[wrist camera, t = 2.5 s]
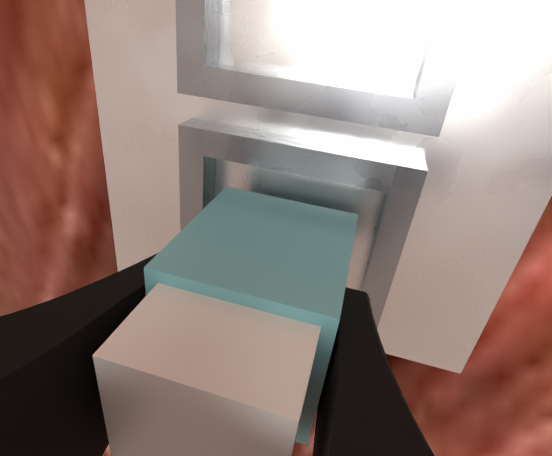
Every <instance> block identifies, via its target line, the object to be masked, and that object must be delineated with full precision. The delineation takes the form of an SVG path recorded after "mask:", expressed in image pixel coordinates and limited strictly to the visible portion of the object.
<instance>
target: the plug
mask: <svg viewBox="0 0 552 456" xmlns="http://www.w3.org/2000/svg"><path fill="white" fill-rule="evenodd" d="M357 219H358V214H353V213H349V212H344V211H339V210H335V209H330V208H325V207H321V206H316V205H311V204H306V203H302V202H297V201H292V200H288V199H283V198H278V197H274V196H269V195H264V194H259V193H255V192H250V191H245V190H241V189H236V188H231V187H227V186H226V187H225V188H224V189H223V190H222V191H221V192H220V193H219V194H218V195H217V196H216V197H215V198H214V199H213V200H212V201H211V202H210V203H209V204H208V205H207V206H206V207H205V208H204V209H203V210H202V211H201V212H200V213H199V214H198V215H197V216H196V217H195V218H194V219H193V220H192V221H191V222H190V223H188V224H187V225H186V226H185V227H184V228H183V229H182V230H181V231H180V232H179V233H178V234H177V235H176V236H175V237H174V238H173V239H172V240H171V241H170V242H169V243H168V244H167V245H166V246H165V247H164V248H163V249H162V250H161V251H160V252H159V253H158V254H157V255H156V256H155V257H154V258H153V259H152V260H151V261H150V262H149V263H148V264H147V265H146V266H145V267H144V277H145V290H146V297H145V298H144V299H143V300H142V301H141V302H140V303H139V304H138V305H137V307H136V308H135V309H134V310H133V311H132V312H131V313H130V314H129V315H128V317H127V318H126V319H125V320H124V321H123V322H122V323H121V324H120V325H119V327H118V328H117V329H116V330H115V331H114V332H113V333H112V334H111V335H110V336H109V338H108V339H107V340H106V341H105V342H104V343H103V344H102V345H101V346H100V348H99V349H98V350H97V351H96V352H95V353H94V354H93V355H92V356H93V361H94V367H95V372H96V377H97V383H98V388H99V393H100V398H101V404H102V409H103V414H104V420H105V425H106V430H107V436H108V441H109V446H110V451H111V456H292V454H293V450H294V445H295V442H298V443H301V444H304V445H307V446H308V443H309V439H310V435H311V431H312V427H313V423H314V419H315V415H316V411H317V407H318V403H319V400H320V396H321V392H322V388H323V384H324V380H325V376H326V372H327V368H328V364H329V360H330V356H331V352H332V348H333V344H334V341H335V337H336V333H337V329H338V325H339V321H340V316H341V310H342V305H343V299H344V293H345V288H346V282H347V276H348V270H349V265H350V259H351V253H352V248H353V242H354V236H355V231H356V225H357Z"/></svg>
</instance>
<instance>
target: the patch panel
mask: <svg viewBox="0 0 552 456" xmlns="http://www.w3.org/2000/svg"><path fill="white" fill-rule="evenodd" d="M84 1H85V9H86V17H87V25H88V33H89V41H90V49H91V57H92V66H93V74H94V82H95V90H96V98H97V106H98V114H99V122H100V130H101V138H102V146H103V154H104V163H105V171H106V179H107V187H108V195H109V203H110V211H111V219H112V227H113V235H114V243H115V251H116V260H117V268H118V272H119V271H121V270H123V269H125V268H127V267H129V266H132V265H134V264H136V263H138V262H140V261H142V260H144V259H146V258H148V257H150V256H153V255H155V254H157V253H159V252H160V251H161V250H162V249H163V248H164V247H165V246H166V245H167V244H168V243H169V242H170V241H171V240H172V239H173V238H174V237H175V236H176V235H177V234H178V233H179V232H180V231H181V230H182V229H183V228H184V227H185V226H186V225H187V224H188V223H190V222H191V221H192V220H193V219H194V218H195V217H196V216H197V215H198V214H199V213H200V212H201V211H202V210H203V209H204V208H205V207H206V206H207V205H208V204H209V203H210V202H211V201H212V200H213V199H214V198H215V197H216V196H217V195H218V194H219V193H220V192H221V191H222V190H223V189H224V188H225V187H226V186H227V187H231V188H236V189H241V190H245V191H250V192H255V193H259V194H264V195H269V196H274V197H278V198H283V199H288V200H292V201H297V202H302V203H306V204H311V205H316V206H321V207H325V208H330V209H335V210H339V211H344V212H349V213H353V214H358V219H357V225H356V231H355V236H354V242H353V248H352V253H351V259H350V265H349V270H348V276H347V282H346V287H347V288H351V289H355V290H359V291H363V292H366V293H367V294H368V296H369V298H370V304H371V309H372V313H373V317H374V320H375V324H376V327H377V330H378V334H379V337H380V340H381V343H382V345H383V348H384V351H385V353H386V354H389V355H393V356H396V357H400V358H404V359H408V360H411V361H415V362H419V363H422V364H426V365H430V366H433V367H437V368H441V369H445V370H448V371H452V372H456V373H459V374H461V372H462V370H463V368H464V366H465V364H466V362H467V360H468V358H469V356H470V355H471V353H472V351H473V349H474V347H475V345H476V343H477V341H478V339H479V337H480V335H481V333H482V331H483V329H484V327H485V325H486V323H487V321H488V319H489V317H490V315H491V313H492V311H493V310H494V308H495V306H496V304H497V302H498V300H499V298H500V296H501V294H502V292H503V290H504V288H505V286H506V284H507V282H508V280H509V278H510V276H511V274H512V272H513V270H514V268H515V266H516V264H517V263H518V261H519V259H520V257H521V255H522V253H523V251H524V249H525V247H526V245H527V243H528V241H529V239H530V237H531V235H532V233H533V231H534V229H535V227H536V225H537V223H538V221H539V219H540V217H541V216H542V214H543V212H544V210H545V208H546V206H547V204H548V202H549V200H550V198H551V196H552V0H84Z"/></svg>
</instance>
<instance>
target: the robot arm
mask: <svg viewBox="0 0 552 456" xmlns="http://www.w3.org/2000/svg"><path fill="white" fill-rule="evenodd" d="M157 254H158V253H157ZM157 254H155V255H153V256H150V257H148V258H146V259H144V260H142V261H140V262H138V263H136V264H134V265H132V266H129V267H127V268H125V269H123V270H121V271H119V272H117V273H115V274H112V275H110V276H108V277H106V278H103V279H101V280H99V281H96V282H94V283H92V284H89V285H87V286H85V287H82V288H80V289H77V290H75V291H73V292H70V293H68V294H65V295H63V296H60V297H58V298H55V299H52V300H50V301H47V302H44V303H41V304H38V305H35V306H32V307H29V308H26V309H23V310H20V311H17V312H14V313H11V314H8V315H4V316H1V317H0V456H102V455H103V453H104V451H105V449H106V448H107V446H108V444H109V441H108V436H107V430H106V425H105V420H104V414H103V409H102V404H101V398H100V393H99V388H98V383H97V377H96V372H95V367H94V361H93V356H92V355H93V354H94V353H95V352H96V351H97V350H98V349H99V348H100V346H101V345H102V344H103V343H104V342H105V341H106V340H107V339H108V338H109V336H110V335H111V334H112V333H113V332H114V331H115V330H116V329H117V328H118V327H119V325H120V324H121V323H122V322H123V321H124V320H125V319H126V318H127V317H128V315H129V314H130V313H131V312H132V311H133V310H134V309H135V308H136V307H137V305H138V304H139V303H140V302H141V301H142V300H143V299H144V298H145V297H146V290H145V277H144V267H145V266H146V265H147V264H148V263H149V262H150V261H151V260H152V259H153V258H154V257H155V256H156V255H157ZM313 456H434V454H433V452H432V450H431V449H430V447H429V445H428V443H427V442H426V440H425V438H424V436H423V434H422V432H421V431H420V429H419V427H418V425H417V423H416V421H415V419H414V417H413V415H412V413H411V411H410V409H409V407H408V405H407V403H406V401H405V399H404V397H403V395H402V392H401V390H400V388H399V386H398V383H397V381H396V379H395V376H394V374H393V372H392V369H391V367H390V364H389V362H388V359H387V356H386V353H385V351H384V348H383V345H382V343H381V340H380V337H379V334H378V330H377V327H376V324H375V320H374V317H373V313H372V309H371V304H370V298H369V296H368V294H367V293H366V292H363V291H359V290H355V289H351V288H347V287H346V288H345V293H344V299H343V305H342V310H341V316H340V321H339V325H338V329H337V333H336V337H335V341H334V344H333V348H332V352H331V356H330V360H329V364H328V368H327V372H326V376H325V380H324V384H323V388H322V392H321V396H320V400H319V403H318V410H317V420H316V429H315V439H314V448H313Z"/></svg>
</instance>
